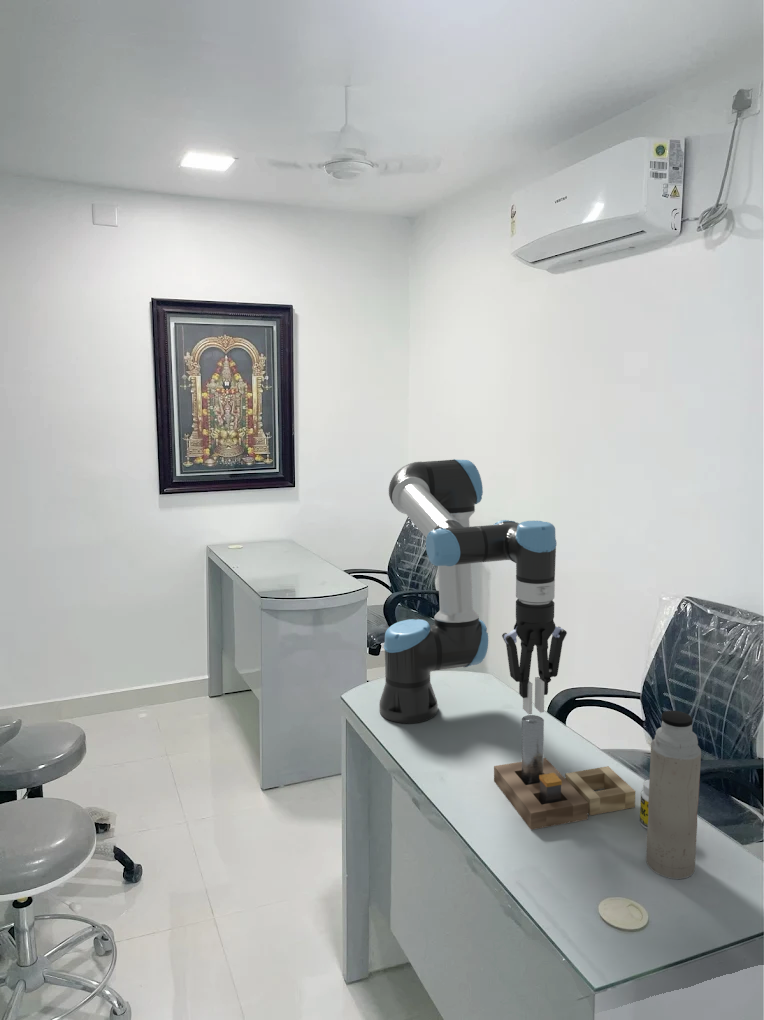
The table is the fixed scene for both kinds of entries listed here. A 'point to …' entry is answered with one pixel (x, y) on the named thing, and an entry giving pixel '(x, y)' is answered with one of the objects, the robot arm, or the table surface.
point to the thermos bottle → (673, 797)
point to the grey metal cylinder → (532, 749)
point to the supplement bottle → (644, 804)
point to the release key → (550, 788)
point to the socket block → (529, 797)
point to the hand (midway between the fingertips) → (533, 710)
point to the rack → (606, 800)
